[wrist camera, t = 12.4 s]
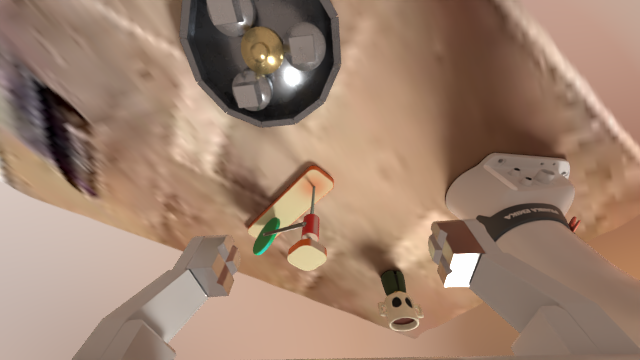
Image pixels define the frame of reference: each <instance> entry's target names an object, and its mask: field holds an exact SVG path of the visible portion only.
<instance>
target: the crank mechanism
mask: <svg viewBox="0 0 640 360" xmlns="http://www.w3.org/2000/svg"><path fill="white" fill-rule="evenodd" d="M333 187H334V180H333V179H332V177H330V176H329V175H328V174H326V173H325V172H324V171H323V170H321V169H320V168H319V167H317V166H310V167H309V168H307V169H306V170H305V171H304V172H303V173H302V174H301V175H300V176H299V177H298V178H297V179H296V180H295V181H294V182H293V183H292V184H291V185H290V186H289V187H288V188H287V189H286V190H285V191H284V192H283V193H282V194H281V195H280V196H279V197H278V198H277V199H276V200H275V201H274V202H273V203H272V204H271V205H270V206H269V207H268V208H267V209H266V210H264V211H263V212H262V213H261V214H260V215H259V216H258V217H257V218H256V219H255V220H254V221H253V222H252V223H251V224H250V225H249V227H248V233H249V234H250V235H251V236H253V237H255V238H257V239H256V241H255V244H254V247H253V253H254V254H256V255H261V254H262V253H264V252H265V251H266V250H267V249H268V247H269V246H270V245H271V243H272V242H273V240H274V239H275V238H276V237H277V236H278V235H279V234H280V233H282V232H284V231H288V230H292V229H297V228H301V227H303V229H302V237H301V238H302V240H300V241H298V242H297V243H296V244H295V245H293V246H292V247H291V248H290V249H289V253H288V261H289V263H291V264H292V265H294V266H296V267H297V268H299V269H301V270H305V271H311V270H314V269H316V268H317V267H319V266H320V265H322V264H323V263H324V262H325V261H326V259H327V250H326V248H325V247H324V246H323V245H321V244H319V243H318V242H317V241H318V239H319V217H318V216H317V215H315V214H314V204H315V203H317V202H318V201H319V200H320V199H321V198H322V197H323V196H325V195H326V194H327V193H328V192H329V191H330V190H332V189H333ZM310 208H311V213H310V214H307V215H306V216H305V217H304V221H303V222H302V223H299V224H295V225H291V224H292V223H293V222H294V221H296V220H297V219H298V218H299V217H300V216H301V215H303V214H304V213H305V212H306V211H307V210H308V209H310ZM290 225H291V226H290Z"/></svg>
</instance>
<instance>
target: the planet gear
mask: <svg viewBox="0 0 640 360" xmlns="http://www.w3.org/2000/svg"><path fill="white" fill-rule="evenodd" d="M283 51H284V55H285V57H286V59H287V61H288V62H289V64H290V65H291V66H293V67H294V68H295V69H297V70H300V71H310V70H313V69H315V68H316V67H317V66H319V65H320V63H321V62H322V60H323V58H324V56H325V51H326V42H325V38H324V35H323V33H322V32H321V30H320V29H319V28H318V27H317V26H315V25H314V24H312V23H308V22H300V23H296V24H294V25H293V26H291V27H290V28H289V29H288V31H287V32H286V34H285V37H284V40H283Z"/></svg>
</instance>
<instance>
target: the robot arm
mask: <svg viewBox="0 0 640 360" xmlns="http://www.w3.org/2000/svg"><path fill="white" fill-rule="evenodd" d="M569 173H570V165H569V162H568V161H566V160H565V159H562V158H551V157H539V156H528V155H516V154H504V153H492V154H490V155H488V156H487V157H486V158H485V159H484V160H483V161H482V162H481V163H480V164H478V165H477V166H475V167H474V168H472V169H470V170H468V171H467V172H465V173H463V174H462V175H461V176H460V177H458V178H457V179H456V180H455V181H454V182H453V184H452V185H451V186H450V188H449V190H448V192H447V195H446V205H447V207H448V209H449V210H450V212H452V213H453V214H454V215H456V216H457V217H458V218H459V219H460V220H449V221H436V222H433V223H432V226H431V230H432V232H433V234H432V235H431V236H430V237H429V241H428V246H429V252H430V255H431V258H432V260H433V261H434V262H435V263H436V264H438V265H439V266H438V270H437V271H438V274H439V276H440V278H441V280H442V282H443V285H444V287H462V286H469V288H470V289H471V290H472V291H473V292H474V293H475V294H476V295H478V296H479V297H480V298H481V299H482V300H483V301H484V302H485V303H487V304H488V305H489V306H490V307H491V308H492V309H493V310H494V311H496V312H497V313H498V314H499V315H500V316H501V317H502V318H503V319H505V320H506V321H507V322H508V323H509V324H510V325H511V326H512V327H514V328H515V329H516V330H517V331H518V332H519V333H520V335H519V336H518V338H517V339H516V340H515V342H514V343H513V345H512V347H511V348H512V350H513V352H514V354H515V356H475V357H474V356H468V357H411V358H410V357H408V358H351V359H349V358H348V359H293V360H640V280H638V279H636V278H634V277H632V276H631V275H629V274H627V273H626V272H624V271H622V270H620V269H619V268H617V267H616V266H614V265H613V264H612V263H610V262H609V261H608V260H606V259H605V258H604V257H602V256H601V255H600V254H599V253H597V252H596V251H595V250H594V249H592V248H591V247H590V246H589V245H588V244H586V243H585V242H584V241H583V240H582V239H580V238H579V237H578V236H577V235H576V234H575V233H574V231H575V230H576V228H577V227H578V225H579V223H580V222H581V221H580V220H579V221H578V222H577V223H576V217H573V218H572V219H571V221H570V223H569V224H568V223H567V220H566V218H565V217H564V216H565V215H566V213H567V211H568V209H569V208H570V206H571V204H572V202H573V199H574V196H575V189H574V186H573V184H572V183H571V182H570V181H569V180H568V177H569ZM575 223H576V224H575ZM574 224H575V225H574ZM233 243H234V239H233V237H232V236H231V235H216V236H196V237H194V238H192V239H191V241H190V242H189V244H188V245H187V247H186V248H185V250H184V252H183V254H182V255H181V256H180V258H179V260H178V261H177V263H176V264H175V266H174V267H173V269H172V270H168V271H167V272H165V273H164V274H163V275H161V276H160V277H159V278H157V279H156V280H155V281H153V282H152V283H151V284H149V285H148V286H146V287H145V288H144V289H142V290H141V291H140V292H139V293H137V294H136V295H134V296H133V297H132V298H130V299H129V300H128V301H126V302H125V303H124V304H122V305H121V306H120V307H118V308H117V309H116V310H114V311H113V312H112V313H110V314H109V315H107V316H106V317H105V318H103V319H102V321H101V322H100V323H99V324H98V326H97V327H96V328H95V329H94V331H93V332H92V333H91V335H90V336H89V337H88V339H87V340H86V341H85V343H84V344H83V345H82V347H81V348H80V349H79V351H78V352H77V353H76V354H75V356H74V357H73V358H72V360H174V359H175V356H176V352H175V350H174V349H173V348H172V347H171V346H169V345H168V344H167V343H168V342H169V341H170V340H171V339H172V338H173V337H174V335H176V333H177V332H178V331H179V330H180V329H181V328H182V327H183V326H184V325H185V323H186V322H187V321H188V320H189V319H190V318H191V317H192V316H193V315H194V313H195V312H196V311H197V310H198V309H199V308H200V307H201V306H202V305H203V304H204V302H205V301H206V300H207V299H208V297H217V296H228V295H229V293H230V290H231V287H232V284H233V282H234V279H233V276H232V275H233V274H234V273H235V272H237V271H238V268H239V265H240V252H239V250H238V248H237V247H235V246H234V245H233ZM288 360H289V359H288ZM291 360H292V359H291Z"/></svg>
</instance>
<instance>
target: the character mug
mask: <svg viewBox="0 0 640 360" xmlns="http://www.w3.org/2000/svg"><path fill="white" fill-rule="evenodd" d="M396 272H397V275H396V274H394V273H393V271H388V272H386V273H384V274H383V275H382V277H381V281H382V284H383V287H384V290H385V293H386V295H387V297H386V298H385V303H384V302H380V303H378V308H379V313H380V315H381V316H387V318H388V323H389V327H390V328H391V329H393V330H395V331H409V330H412V329H414V328H416V327H417V326H418V325H419V319H418V318H423V317H424V315H423V312H422V309H421V306H420V305H419V304H414V303H413V300H412V298H411V297H410V296H409V295H408V294H406V287H405V280H404V275H403V274H402V273H401V272H399V271H396ZM382 307H385V309H386V312H383V309H382ZM415 308H417V309H418V312H419V314H417V313H416V309H415Z"/></svg>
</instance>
